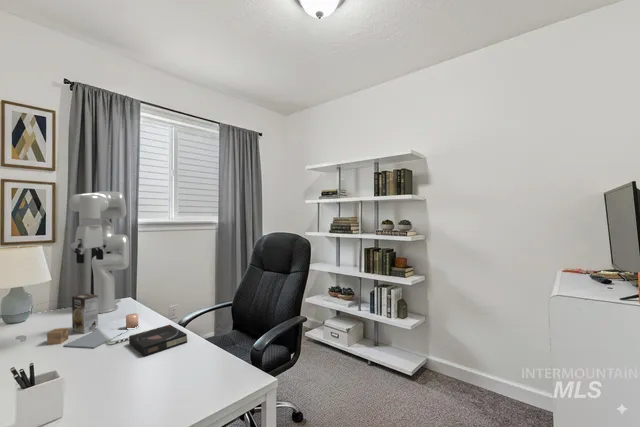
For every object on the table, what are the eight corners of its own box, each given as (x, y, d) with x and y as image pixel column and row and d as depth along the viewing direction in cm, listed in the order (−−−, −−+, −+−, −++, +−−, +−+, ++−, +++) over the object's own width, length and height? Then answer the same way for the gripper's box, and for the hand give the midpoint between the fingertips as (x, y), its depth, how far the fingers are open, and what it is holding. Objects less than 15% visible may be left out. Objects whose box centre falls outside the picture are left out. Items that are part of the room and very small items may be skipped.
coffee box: (71, 331, 140) (71, 296, 139) (86, 326, 146) (86, 292, 145) (83, 333, 136) (83, 298, 136) (98, 328, 142) (98, 294, 142)
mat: (100, 329, 141) (100, 328, 141) (127, 331, 139) (127, 329, 139) (63, 346, 123) (63, 345, 123) (94, 348, 121) (94, 346, 121)
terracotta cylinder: (131, 325, 146) (131, 313, 146) (140, 325, 145) (140, 313, 145) (123, 329, 141) (123, 316, 141) (133, 329, 141) (133, 317, 141)
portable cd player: (144, 358, 114) (144, 347, 114) (129, 345, 125) (129, 335, 125) (187, 343, 126) (187, 334, 126) (169, 333, 138) (169, 324, 138)
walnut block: (54, 340, 130) (54, 328, 130) (68, 339, 131) (68, 327, 131) (47, 345, 125) (47, 333, 125) (61, 343, 126) (61, 332, 126)
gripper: (99, 222, 143) (99, 258, 143) (63, 223, 125) (64, 264, 125) (113, 222, 142) (113, 258, 142) (79, 223, 125) (80, 264, 125)
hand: (90, 261), depth 134 cm, fingers open, 9 cm apart
